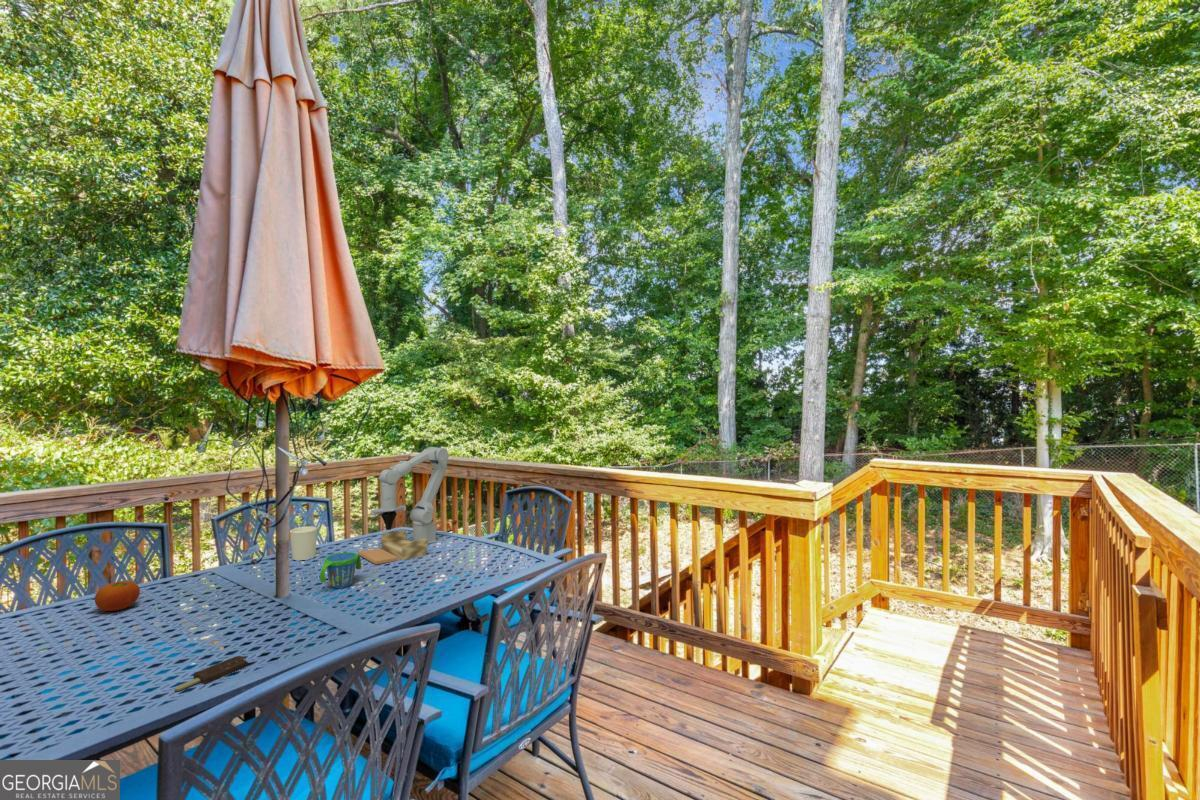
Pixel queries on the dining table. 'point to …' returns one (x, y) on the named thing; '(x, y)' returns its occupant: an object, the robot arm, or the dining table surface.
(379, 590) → the dining table surface
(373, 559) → the tailgate
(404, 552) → the cart bed
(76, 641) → the dining table surface
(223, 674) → the ice cream bar
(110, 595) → the fruit
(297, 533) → the candle holder
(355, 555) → the snack cup
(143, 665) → the dining table surface
